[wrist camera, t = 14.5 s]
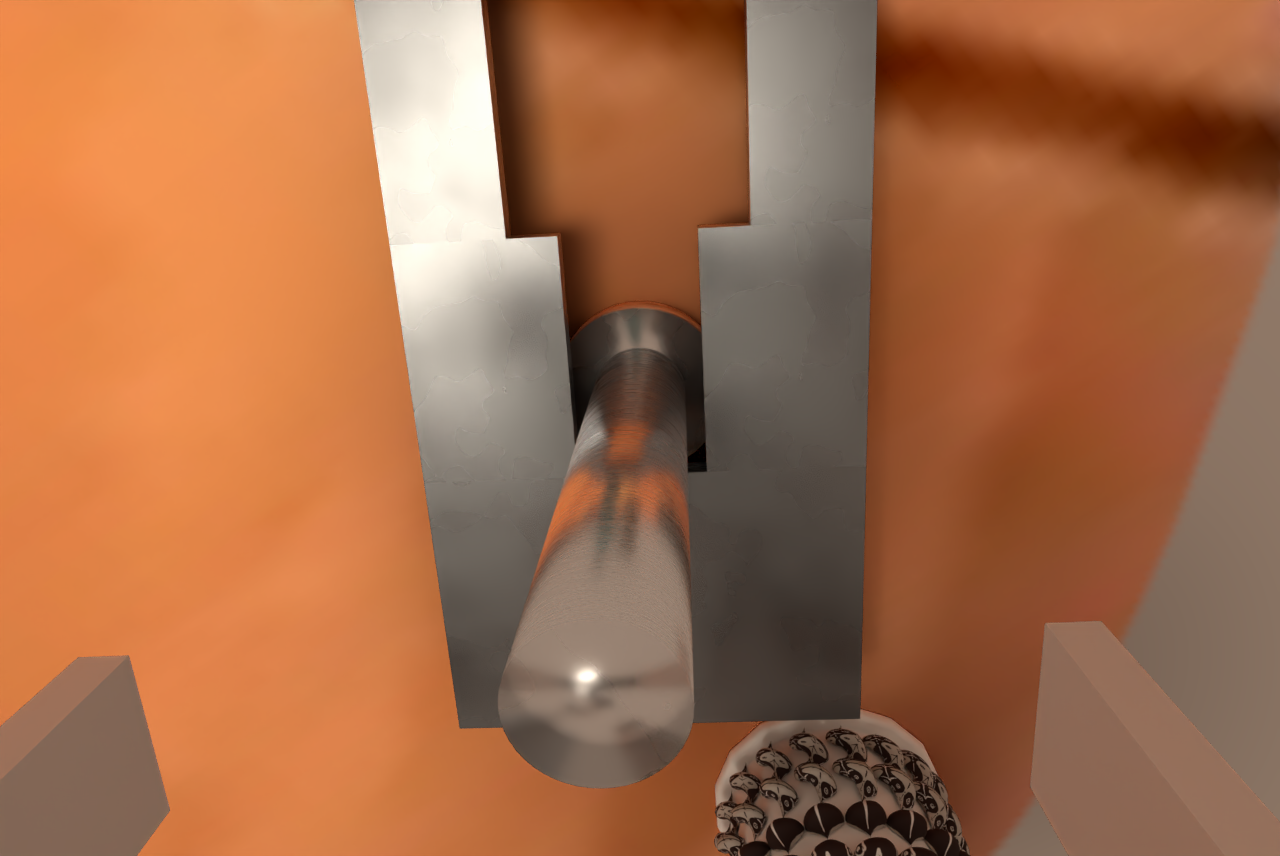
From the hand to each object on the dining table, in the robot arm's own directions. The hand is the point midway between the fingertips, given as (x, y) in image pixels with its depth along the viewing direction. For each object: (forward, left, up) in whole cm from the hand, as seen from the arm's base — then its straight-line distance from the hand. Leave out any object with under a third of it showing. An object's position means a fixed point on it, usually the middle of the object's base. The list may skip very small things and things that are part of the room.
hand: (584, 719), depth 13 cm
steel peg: (0, 0, -17) cm, 17 cm away
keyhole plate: (+3, 0, -17) cm, 17 cm away
